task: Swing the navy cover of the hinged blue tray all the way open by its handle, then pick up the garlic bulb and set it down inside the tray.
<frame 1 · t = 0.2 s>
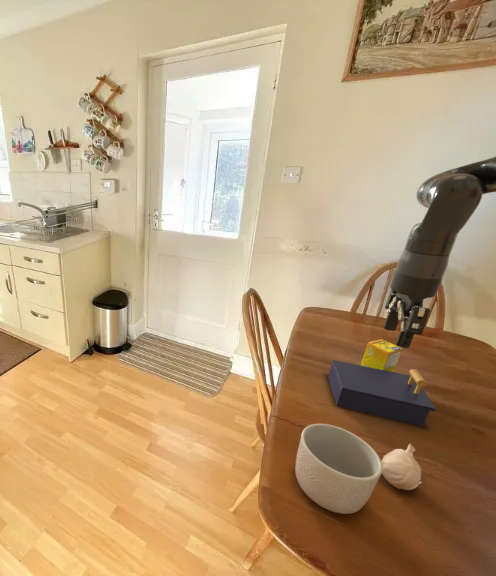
hand: (395, 337, 73), 22 cm above the table, tool pointing down, fingers open, 8 cm apart
cover: (380, 376, 82), point 8 cm above the table, hinge at 0.0°
hinged blue tray: (369, 399, 85), on the table
planter: (325, 490, 62), on the table
garlic bulb: (394, 481, 63), on the table
supplement box: (373, 376, 95), on the table
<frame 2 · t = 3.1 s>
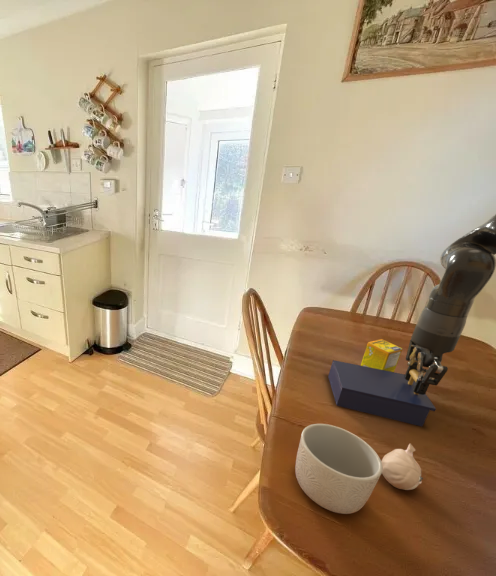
hand: (413, 386, 80), 7 cm above the table, tool pointing down, fingers closed on cover, 5 cm apart
cover: (380, 376, 82), point 8 cm above the table, hinge at 0.0°, touching gripper
everything else where it was.
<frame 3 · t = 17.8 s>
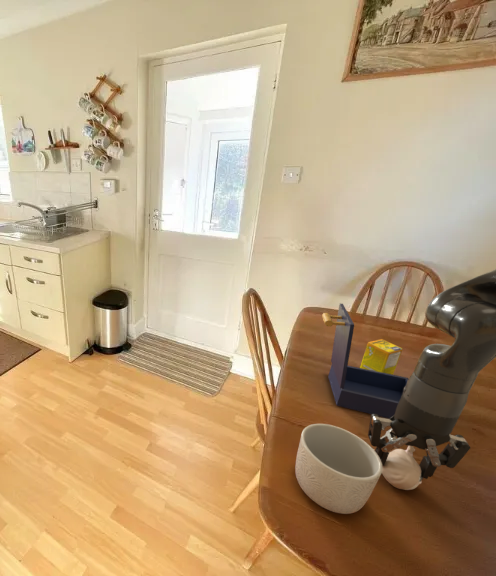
hand: (400, 468, 62), 4 cm above the table, tool pointing down, fingers closed on garlic bulb, 6 cm apart
cover: (331, 343, 85), point 15 cm above the table, hinge at 95.8°
garlic bulb: (394, 481, 63), on the table, touching gripper
everything else where it was.
when the fingers open (4 cm above the table, at t = 26.2 s): garlic bulb stays where it is, resting on hinged blue tray.
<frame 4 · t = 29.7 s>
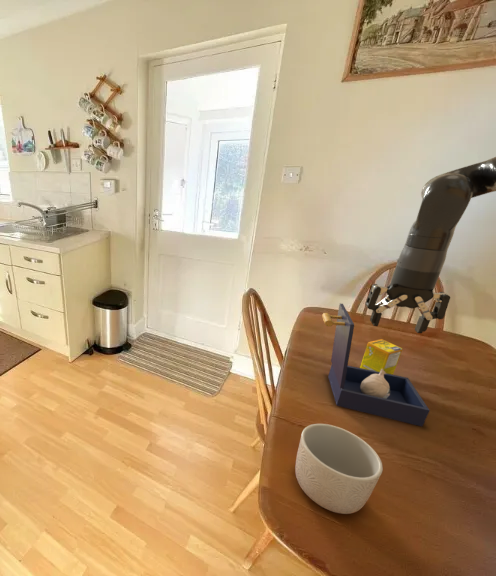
hand: (395, 328, 77), 22 cm above the table, tool pointing down, fingers open, 8 cm apart
garlic bulb: (370, 398, 85), point 1 cm above the table, touching hinged blue tray
everything else where it was.
at the end: cover at +96° (first picture: +0°); garlic bulb inside the target area in the hinged blue tray (0.1 cm from its centre), point 0.6 cm above the hinged blue tray's base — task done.
